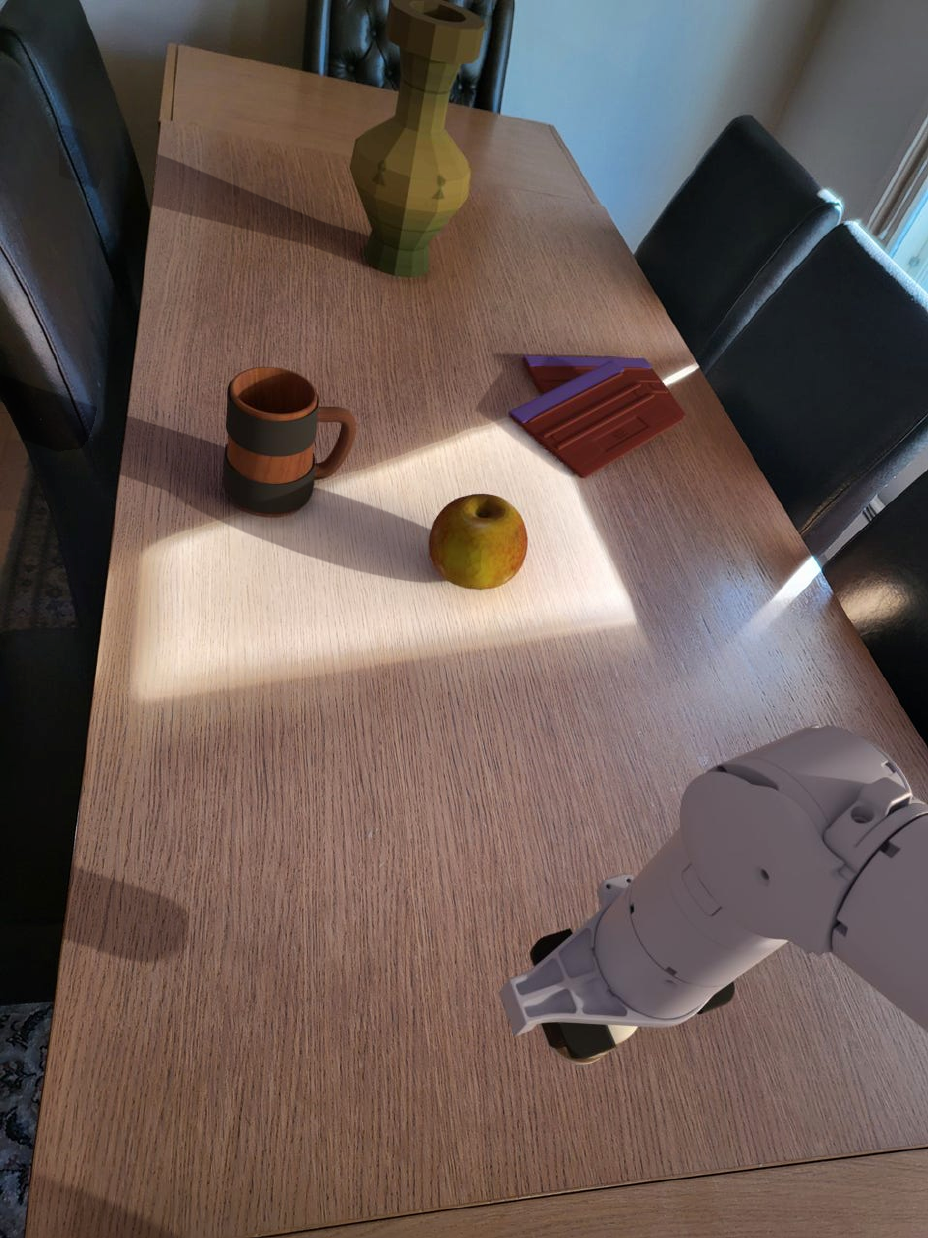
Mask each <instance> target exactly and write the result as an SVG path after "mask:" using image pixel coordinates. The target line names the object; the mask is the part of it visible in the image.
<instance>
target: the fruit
mask: <svg viewBox="0 0 928 1238" xmlns="http://www.w3.org/2000/svg"><path fill="white" fill-rule="evenodd" d="M528 541H529V540H528V532H527V528H526V525H525V522H524V519H523V517H522V515H521V514H520V512H519V511H518V510H517V508H516V507H515V506H513V504H512V503H510V502H509V501H508V500H506V499H504V498H502V497H500V496H498V495H494V494H491V493H490V494H489V493H473V494H468V495H465V496H461V497H458V498H455V499H453V500H452V501H450V502H448V503H447V504H446V505H445V506H443V508H442V509H441V510H440V512H439V513H438V514H437V515H436V517H435V519H434V521H433V523H432V525H431V529H430V532H429V537H428V554H429V558H430V561H431V563H432V566H433V568H434V569H435V570H436V572H437V573H439V575H440V576H441V577H443V578H444V580H446V581H447V582H449V583H451V584H452V585H455V586H457V587H459V588H462V589H467V590H477V591H481V590H482V591H483V590H490V589H491V590H492V589H496V588H499V587H501V586H503V585H506V584H507V583H508V582H509V581H511V580H512V579H513V578H514V577H516V575H517V574H518V572H519V571H520V570H521V568H522V567H523V564H524V562H525V559H526V556H527V553H528V552H527V551H528V546H529V544H528V543H529V542H528Z"/></svg>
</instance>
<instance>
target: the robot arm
mask: <svg viewBox="0 0 928 1238" xmlns="http://www.w3.org/2000/svg"><path fill="white" fill-rule="evenodd" d="M596 895H597V897H598V900H599V902H600V907H599V910H598V911H596V912H595V913H594V914H593V915H592V916H591V917H590V918H588V919H587V920H586V921H585V922H584V923H583V924H582V925H581V926H579V927H578V928H577V929H576V930H575V931H574V932H573V930H572V928H570V927H569V928H565V929H563V930H559V931H556V932H553V933H551V934H547V935H544V936H542V937H540V938H539V939H538V940H536V942H535V943H534V945H533V946H532V947H531V948H530V951H529V958H530V961H531V964H532V966H533V967H532V968H530V969H528V970H526V971H525V972H523V973H519V974H518V975H515V976H513V977H510V978H508V980H507V981H506V982H505V983H504V985H503V986H502V987H501V989H500V990H499V991H498V996H499V999H500V1002H501V1004H502V1007H503V1010H504V1014H505V1015H506V1018H507V1021H508V1023H509V1026H510V1029H511V1031H512V1035H513V1036H515V1037H517V1036H520V1035H522V1034H525V1033H528V1032H530V1031H532V1030H533V1029H534V1028H535V1027H536V1026H537V1025H540V1023H541V1025H542V1027H543V1030H544V1033H545V1035H546V1038H547V1040H548V1043H549V1046H551V1047H552V1048H564V1047H566V1049H567V1051H568V1053H569V1055H570V1057H571V1058H572V1059H586V1058H590V1057H593V1056H595V1055H598V1054H600V1053H603V1052H605V1051H608V1050H611V1049H613V1048H614V1049H616V1048H617V1047H616V1044H615V1041H614V1039H613V1037H612V1034H611V1032H610V1030H609V1027H608V1025H620V1026H637V1028H638V1027H640V1028H656V1029H658V1028H659V1029H660V1028H661V1029H663V1028H665V1029H666V1028H671V1027H675V1026H678V1025H680V1024H683V1023H685V1022H686V1021H688V1020H689V1019H691V1018H693V1017H694V1016H695V1015H700V1016H701V1015H703V1014H706V1013H708V1012H712V1011H713V1010H715V1009H718V1008H721V1007H724V1006H726V1005H727V1004H728V1003H730V1002H731V1001H732V1000H733V998H734V996H735V993H736V985H735V980H736V979H737V978H739V977H740V976H742V975H743V974H745V973H746V972H748V971H749V970H750V969H752V968H753V967H754V966H756V965H757V964H758V963H760V962H761V961H763V960H764V959H766V958H768V957H769V956H770V955H771V954H773V953H774V952H775V951H777V950H778V949H780V948H782V946H784V945H785V944H786V943H788V942H790V943H792V944H794V945H796V946H797V947H798V948H800V949H801V950H802V951H803V952H804V953H806V954H807V955H810V954H812V953H813V954H814V955H815V956H818V957H820V956H822V955H825V954H826V953H827V954H830V953H831V954H832V955H833V956H835V957H836V958H837V959H838V960H840V961H841V962H842V964H845V965H846V966H847V967H848V968H849V969H851V971H853V972H854V973H855V974H856V975H857V976H859V977H860V978H861V979H862V980H864V981H865V982H866V983H867V984H868V985H870V986H871V987H872V988H873V989H875V990H876V991H877V992H878V993H879V994H881V996H883V997H884V998H885V999H887V1000H888V1001H889V1002H890V1003H891V1004H892V1005H894V1007H896V1008H897V1009H898V1010H900V1011H901V1012H902V1013H903V1014H904V1015H905V1016H907V1017H908V1018H909V1019H910V1020H912V1021H913V1022H914V1023H915V1024H916V1025H918V1026H919V1028H921V1029H922V1030H924V1031H925V1032H926V1033H927V1034H928V804H926V803H925V802H924V801H922V800H920V799H919V798H917V797H915V796H914V795H913V791H912V789H911V786H910V784H909V782H908V780H907V778H906V776H905V775H904V773H903V771H902V769H900V767H899V766H898V764H897V763H896V762H895V761H894V760H893V759H892V758H891V756H890V755H889V754H888V753H887V752H886V751H885V750H884V749H882V748H881V747H880V746H878V745H877V744H875V743H874V742H873V741H871V740H869V739H867V738H866V737H863V736H860V735H858V734H856V733H853V732H852V731H850V730H847V729H845V728H842V727H839V726H835V725H829V724H826V725H824V726H822V727H819V725H818V724H815V725H811V726H805V727H803V728H801V729H798V730H796V731H794V732H792V733H788V734H786V735H785V736H782V737H780V738H777V739H776V740H773V741H770V742H767V743H766V744H764V745H761V746H759V747H756V748H754V749H752V750H749V751H747V752H744V753H742V754H739V755H738V756H735V757H733V758H731V759H728V760H726V761H724V762H723V761H722V762H721V763H719V764H716V765H714V766H712V767H711V768H709V769H708V770H707V771H706V772H704V773H702V774H699V775H698V776H696V777H695V778H693V779H692V780H691V781H690V782H689V783H688V785H687V786H686V788H685V790H684V792H683V793H682V796H681V801H680V805H679V827H678V828H677V829H676V831H674V833H673V834H672V835H671V836H670V837H669V838H668V840H667V841H665V843H664V844H663V845H662V846H661V847H660V848H659V850H658V851H657V852H656V853H655V854H654V855H653V856H652V858H651V859H650V860H649V861H648V862H647V863H646V865H644V867H643V868H641V870H640V872H638V874H637V875H636V876H635V877H634V875H632V874H630V873H622V874H619V875H615V876H611V877H608V878H605V879H604V880H602V881H601V882H600V883H599V884H598V886H597V887H596ZM614 1049H613V1050H614ZM611 1051H612V1050H611Z"/></svg>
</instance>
